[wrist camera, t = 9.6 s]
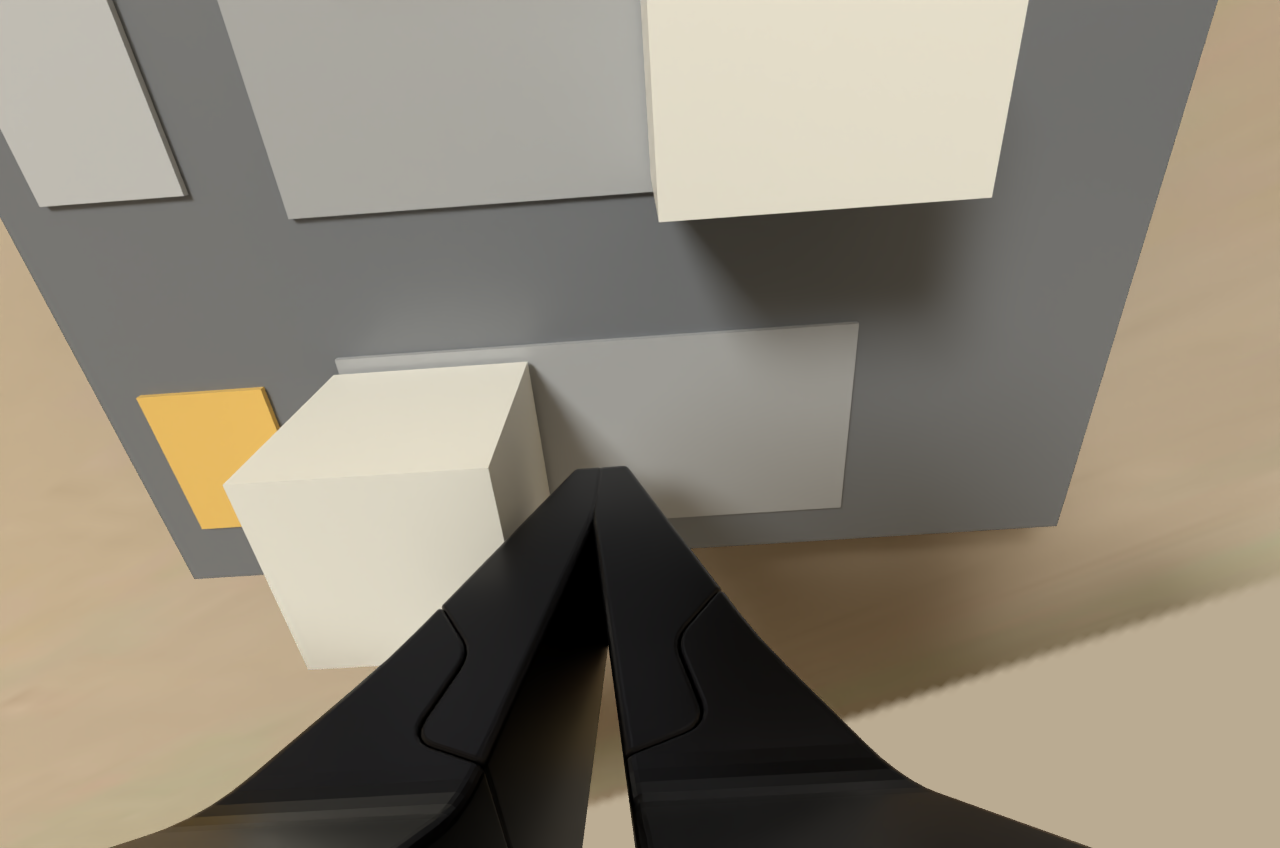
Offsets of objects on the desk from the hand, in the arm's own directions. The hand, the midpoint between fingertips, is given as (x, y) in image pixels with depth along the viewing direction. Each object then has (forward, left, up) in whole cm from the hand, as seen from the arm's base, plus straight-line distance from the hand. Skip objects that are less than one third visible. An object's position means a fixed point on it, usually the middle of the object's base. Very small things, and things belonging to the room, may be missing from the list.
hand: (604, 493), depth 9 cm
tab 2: (-2, -6, -1) cm, 6 cm away
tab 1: (+3, 0, -1) cm, 3 cm away
